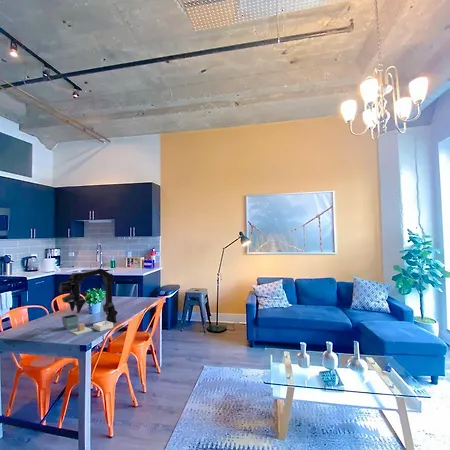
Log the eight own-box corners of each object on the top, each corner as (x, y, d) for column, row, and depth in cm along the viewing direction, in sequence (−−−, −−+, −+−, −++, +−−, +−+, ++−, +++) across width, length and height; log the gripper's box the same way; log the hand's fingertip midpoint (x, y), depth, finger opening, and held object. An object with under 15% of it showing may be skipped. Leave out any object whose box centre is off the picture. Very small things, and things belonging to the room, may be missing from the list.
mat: (85, 327, 208) (85, 327, 208) (94, 331, 200) (94, 330, 200) (67, 332, 197) (67, 332, 197) (76, 336, 190) (76, 335, 190)
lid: (84, 327, 206) (85, 320, 207) (92, 330, 200) (92, 323, 200) (69, 331, 198) (69, 324, 198) (76, 335, 191) (76, 327, 191)
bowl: (105, 325, 212) (106, 320, 212) (113, 328, 206) (113, 322, 206) (93, 329, 204) (93, 323, 204) (100, 332, 198) (100, 326, 198)
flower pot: (73, 325, 213) (73, 314, 213) (78, 327, 208) (78, 316, 208) (61, 328, 206) (61, 316, 207) (66, 331, 201) (66, 318, 201)
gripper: (58, 290, 198) (57, 312, 197) (69, 293, 187) (69, 316, 186) (74, 288, 207) (73, 309, 206) (86, 291, 195) (85, 313, 195)
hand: (75, 312), depth 198 cm, fingers open, 9 cm apart
